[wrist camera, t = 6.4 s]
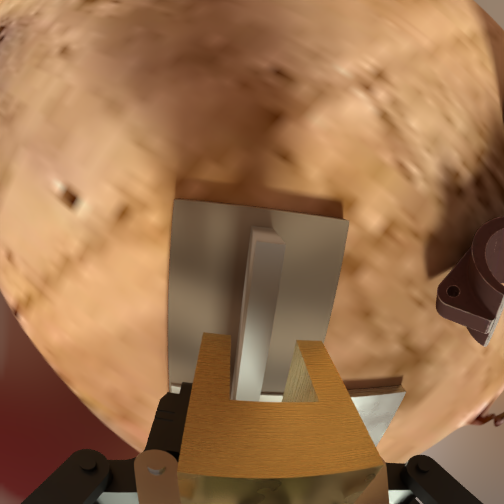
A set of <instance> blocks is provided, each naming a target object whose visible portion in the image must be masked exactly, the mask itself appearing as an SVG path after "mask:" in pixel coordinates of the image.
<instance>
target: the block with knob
mask: <svg viewBox="0 0 504 504" xmlns="http://www.w3.org/2000/svg"><path fill="white" fill-rule="evenodd" d="M230 353H231V335H224V334H214V333H205V332H203V336H202V341H201V345H200V350H199V355H198V360H197V365H196V370H195V375H194V380H193V385H192V390H191V395H190V401H189V406H188V411H187V417H186V422H185V428H184V433H183V439H182V444H181V450H180V456H179V462H178V468H177V477H178V485H179V493H180V500H181V504H346V503H347V502H348V501H351V500H356V499H358V497H359V496H360V495H361V494H362V493H363V492H364V490H365V489H366V488H367V487H368V485H369V484H370V483H371V482H372V480H373V479H374V478H375V476H376V475H377V474H378V472H379V471H380V470H381V468H382V467H383V466H384V463H383V461H382V459H381V457H380V455H379V453H378V451H377V449H376V447H375V445H374V443H373V441H372V439H371V437H370V435H369V433H368V431H367V428H366V426H365V424H364V422H363V420H362V418H361V416H360V414H359V413H358V411H357V409H356V407H355V405H354V403H353V401H352V399H351V397H350V395H349V393H348V391H347V389H346V387H345V385H344V383H343V381H342V379H341V377H340V375H339V373H338V371H337V369H336V367H335V365H334V364H333V362H332V360H331V358H330V356H329V354H328V352H327V350H326V348H325V346H324V344H323V342H322V341H310V340H296V344H295V348H294V353H293V357H292V361H291V366H290V370H289V374H288V378H287V382H286V386H285V390H284V394H283V398H282V402H257V401H239V400H229V396H230Z"/></svg>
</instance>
